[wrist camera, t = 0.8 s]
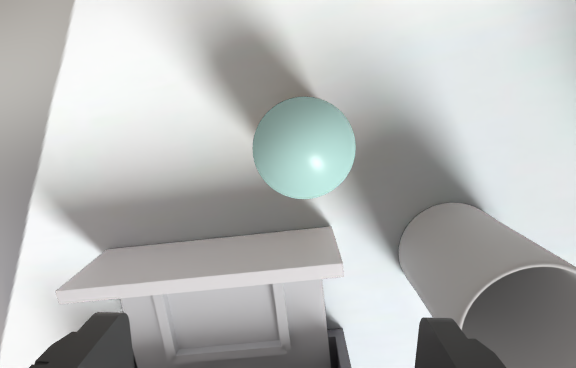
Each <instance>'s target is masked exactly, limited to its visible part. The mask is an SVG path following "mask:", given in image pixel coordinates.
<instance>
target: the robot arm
mask: <svg viewBox="0 0 576 368" xmlns="http://www.w3.org/2000/svg"><path fill="white" fill-rule="evenodd" d="M29 368H134V357H133V348H132V340H131V331H130V322H129V317H128V315H127V314H126V313H109V312H97V313H95V314H93V315H92V316H91V317H90V318H89V320H88V321H87V322H86V323H85V324H84V325H83V326H82V327H81V328H80V329H79V330H78V331H77V332H71V333H70V334H68V335H66V336H65V337H63V338H62V339H60V340H59V341H57V342H55V343H54V344H52V345H51V346H50V347H49V348H48V349H47V350H46V351H45V352H44V353H43V354H42V355H41V356H40V357H39V358H38V359H37V360H36V361H35V364H34V365H31V366H30V367H29ZM415 368H506V367H505V365H504V364H503V363H502V361H501V360H500V359H499V358H498V356H497V355H496V354H495V353H494V352H493V351H491V350H490V349H489V348H487V347H486V346H485V345H483V344H482V343H481V342H479V341H478V340H477V339H468V338H467V337H466V336H465V334H464V333H463V331H462V330H461V329H460V327H459V326H458V325H457V323H456V322H455V321H454V320H453V319H452V318H422V319H421V321H420V325H419V333H418V342H417V351H416V360H415Z"/></svg>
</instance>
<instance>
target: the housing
mask: <svg viewBox="0 0 576 368" xmlns="http://www.w3.org/2000/svg"><path fill="white" fill-rule="evenodd" d="M327 333H328V343H329V353H330V364H331V368H351V364H350V360H349V355H348V350H347V346H346V341H345V337H344V332H343V328H342V329H331V330H327ZM133 357H134V368H138V367H137V363H136V359H135V355H134V351H133Z"/></svg>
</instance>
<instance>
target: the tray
mask: <svg viewBox="0 0 576 368" xmlns="http://www.w3.org/2000/svg"><path fill="white" fill-rule="evenodd" d="M337 277H344V270H343V262H342V259H341V255H340V252H339V249H338V246H337V243H336V239H335V236H334V233H333V230H332V226H330V227H321V228H311V229H301V230H291V231H281V232H272V233H262V234H252V235H242V236H233V237H223V238H213V239H203V240H193V241H184V242H174V243H164V244H154V245H144V246H135V247H125V248H115V249H107V250H105V251H104V252H103V253H102V254H101V255H99V256H98V257H97V258H96V259H94V260H93V261H92V262H91V263H89V264H88V265H87V266H86V267H85V268H83V269H82V270H81V271H80V272H78V273H77V274H76V275H75V276H73V277H72V278H71V279H70V280H69V281H67V282H66V283H65V284H64V285H62V286H61V287H60V288H59V289H57V290H56V291H55V293H56V296H57V299H58V303H59V304H68V303H79V302H89V301H99V300H110V299H120V300H121V304H122V308H123V312H124V313H126V314H127V315H128V317H129V322H130V331H131V340H132V347H133V351H134V355H135V359H136V363H137V367H138V368H331V364H330V353H329V343H328V333H327V323H326V313H325V303H324V293H323V283H322V279H327V278H337Z"/></svg>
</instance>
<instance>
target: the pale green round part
mask: <svg viewBox="0 0 576 368" xmlns="http://www.w3.org/2000/svg"><path fill="white" fill-rule="evenodd" d="M355 151H356V144H355V137H354V133H353V130H352V128H351V125H350V123H349V122H348V120H347V118H346V117H345V116H344V115H343V113H342V112H341V111H340V110H339V109H337V108H336V107H335V106H333V105H332V104H330V103H328V102H326V101H324V100H321V99H318V98H314V97H296V98H291V99H288V100H285V101H283V102H281V103H279V104H277V105H276V106H274V107H273V108H272V109H271V110H269V111H268V112H267V113H266V115H265V116H264V117H263V118H262V120H261V121H260V123H259V125H258V127H257V129H256V132H255V135H254V140H253V157H254V162H255V165H256V168H257V170H258V172H259V174H260V175H261V177H262V178H263V180H264V181H265V182H266V183H267V184H268V185H269V186H270V187H271V188H272V189H274V190H275V191H277V192H279V193H281V194H283V195H285V196H288V197H291V198H296V199H311V198H316V197H320V196H323V195H325V194H327V193H329V192H331V191H332V190H334V189H335V188H336V187H337V186H339V185H340V184H341V183H342V182H343V180H344V179H345V178H346V176H347V175H348V173H349V172H350V170H351V167H352V165H353V162H354V158H355Z"/></svg>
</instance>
